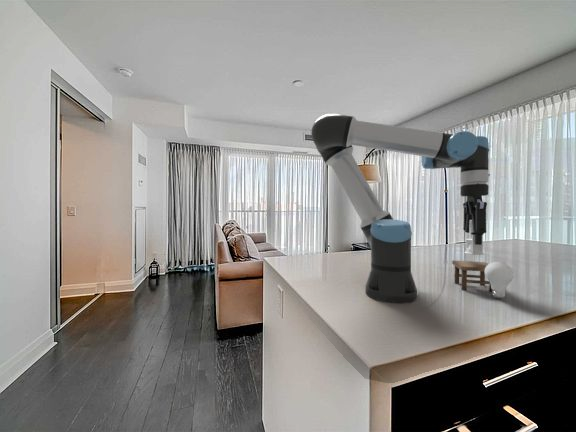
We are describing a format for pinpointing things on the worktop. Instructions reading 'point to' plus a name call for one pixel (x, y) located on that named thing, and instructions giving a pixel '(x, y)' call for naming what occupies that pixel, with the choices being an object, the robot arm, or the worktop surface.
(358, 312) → the worktop surface
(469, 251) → the candle
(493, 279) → the light bulb
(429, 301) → the worktop surface
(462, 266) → the small wooden table
